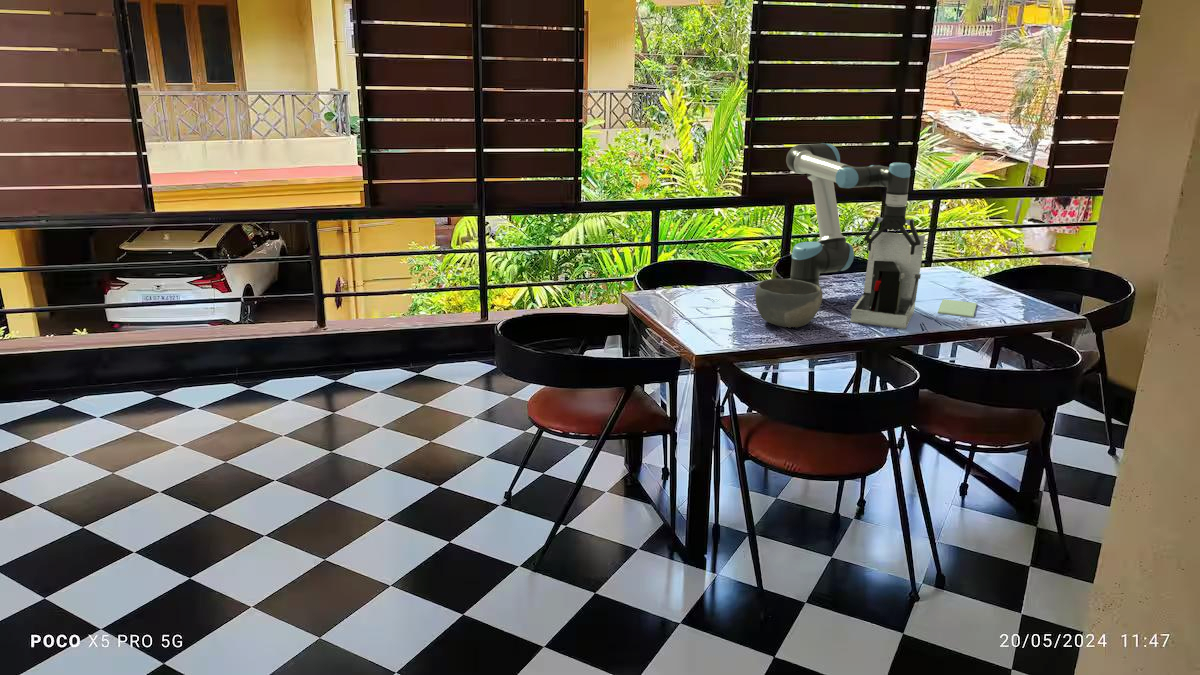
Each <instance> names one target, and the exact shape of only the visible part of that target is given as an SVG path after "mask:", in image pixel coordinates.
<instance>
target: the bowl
mask: <svg viewBox="0 0 1200 675" xmlns="http://www.w3.org/2000/svg"><path fill="white" fill-rule="evenodd" d="M754 294H755V296H754V298H755V305H756V309H757V311H758V314H759V315H760V317H761V318H762V319H763V320H764V321H766V322H767V323H769V324H772V325H774V326H778V327H782V328H786V327H788V328H790V329H791V327H793V328H794V327H795V328H796V329H797V328H800V327H804V326H806V325H807V324H809V323H810V322H811V321H812V320H813V319H814V318H815V316H817V315H816V314H817V313H818V312H819V309H820V307H821V305H822V302H823V290H822V288H821V286H820V287H819V286H818V285H816V284H813V283H809V282H805V281H800V280H793V279H790V278H789V279H788V278H771V279H766V280H763V281H761V282H759V283H758V284H757V285H756V289H755V293H754Z"/></svg>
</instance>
